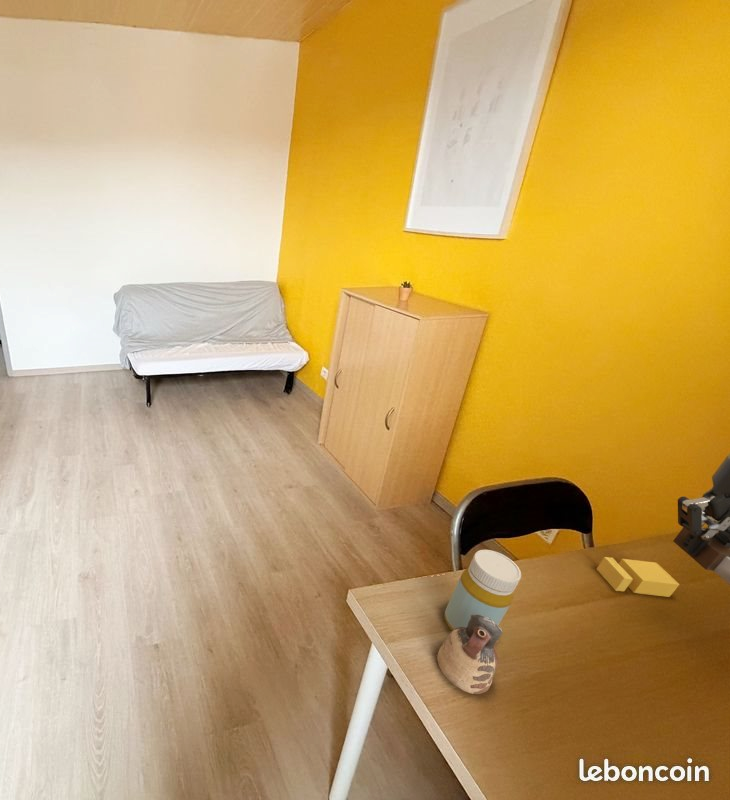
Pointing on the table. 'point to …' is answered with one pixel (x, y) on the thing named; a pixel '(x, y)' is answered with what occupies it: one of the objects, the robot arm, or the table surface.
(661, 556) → the table surface
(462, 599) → the bottle
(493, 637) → the figurine
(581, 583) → the table surface
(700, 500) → the robot arm
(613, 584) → the butter slice
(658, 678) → the table surface
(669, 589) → the butter block
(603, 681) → the table surface
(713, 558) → the knife
